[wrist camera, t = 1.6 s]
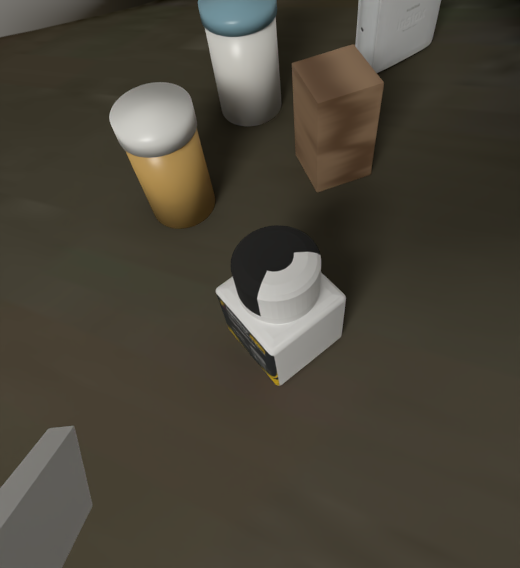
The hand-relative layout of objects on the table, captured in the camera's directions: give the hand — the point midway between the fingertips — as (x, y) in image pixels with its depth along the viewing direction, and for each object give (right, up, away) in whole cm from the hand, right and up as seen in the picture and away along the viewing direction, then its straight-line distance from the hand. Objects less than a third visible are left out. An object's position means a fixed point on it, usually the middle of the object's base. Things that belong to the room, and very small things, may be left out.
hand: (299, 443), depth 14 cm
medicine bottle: (+1, 0, +27) cm, 28 cm away
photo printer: (+15, +33, +45) cm, 58 cm away
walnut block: (+7, +18, +37) cm, 41 cm away
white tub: (-2, +26, +43) cm, 50 cm away
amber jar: (-9, +13, +36) cm, 39 cm away
